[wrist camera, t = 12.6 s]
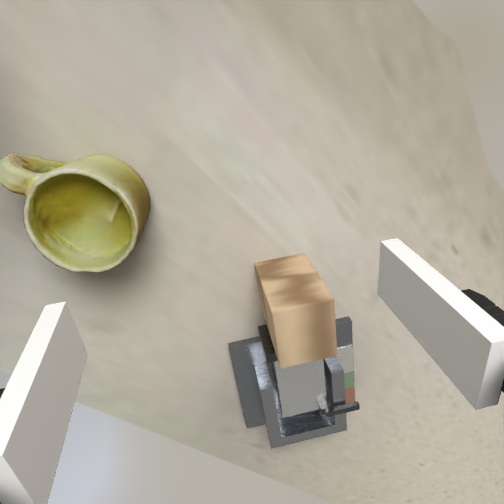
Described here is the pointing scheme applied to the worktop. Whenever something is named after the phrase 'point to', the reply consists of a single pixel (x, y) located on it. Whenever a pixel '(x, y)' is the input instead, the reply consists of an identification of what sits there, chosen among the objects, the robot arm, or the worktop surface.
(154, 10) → the worktop surface
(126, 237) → the mug
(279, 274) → the block
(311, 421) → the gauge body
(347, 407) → the grey blocky piece
